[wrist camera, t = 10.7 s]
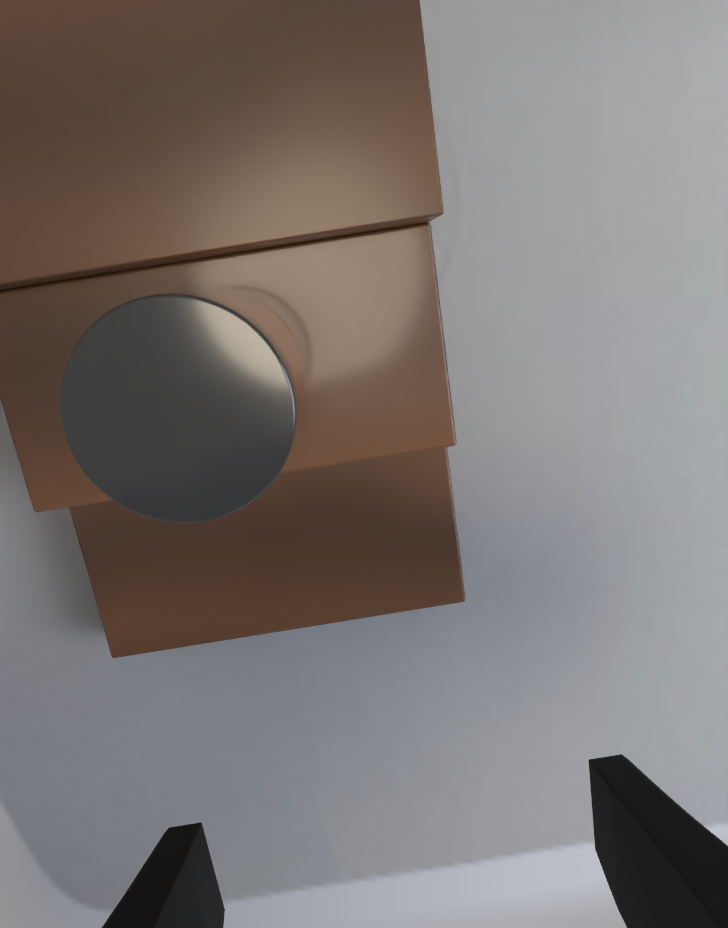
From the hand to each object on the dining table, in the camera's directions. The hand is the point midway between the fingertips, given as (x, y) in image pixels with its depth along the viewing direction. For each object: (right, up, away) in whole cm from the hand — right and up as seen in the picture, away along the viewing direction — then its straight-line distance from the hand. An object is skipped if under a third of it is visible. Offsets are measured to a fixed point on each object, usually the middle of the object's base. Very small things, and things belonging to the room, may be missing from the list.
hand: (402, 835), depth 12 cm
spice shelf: (-4, +10, +8) cm, 13 cm away
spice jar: (-4, +9, +4) cm, 11 cm away
